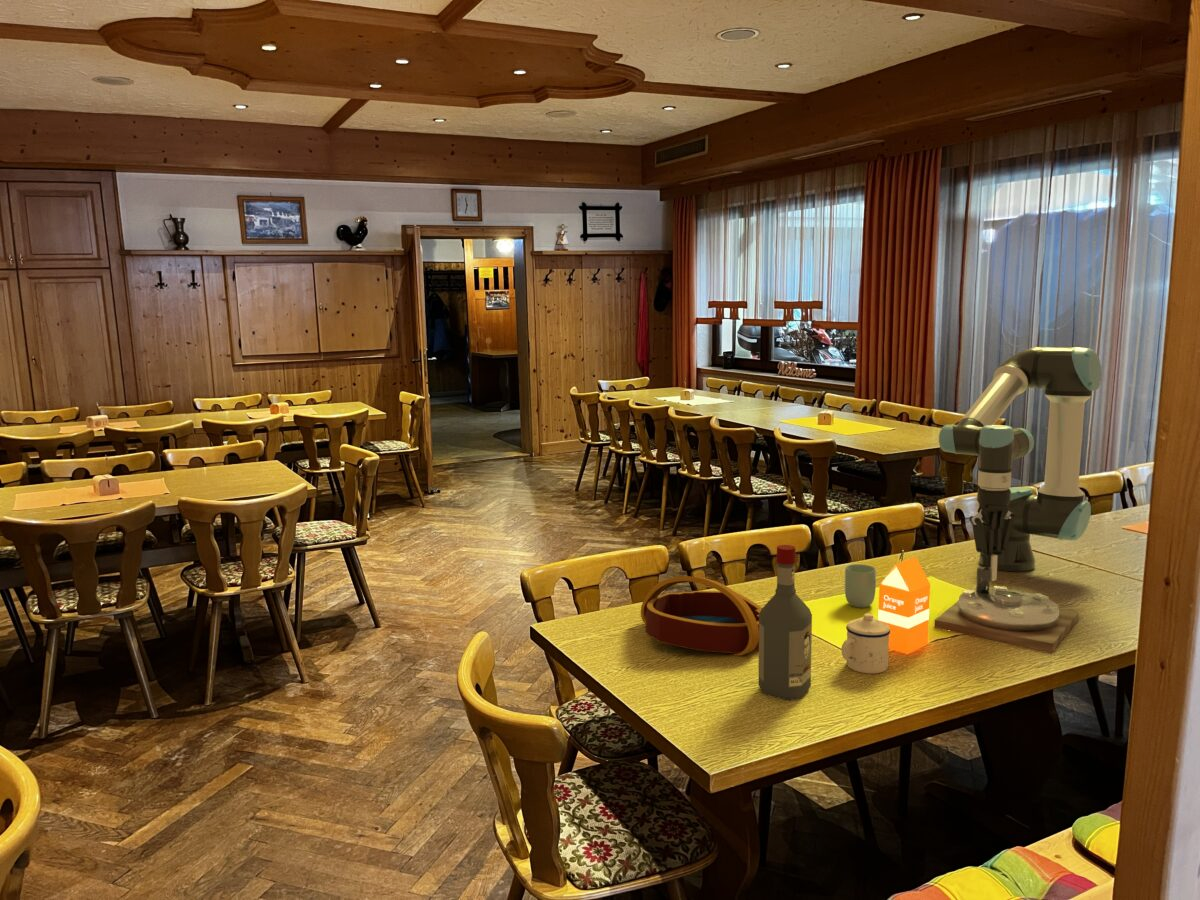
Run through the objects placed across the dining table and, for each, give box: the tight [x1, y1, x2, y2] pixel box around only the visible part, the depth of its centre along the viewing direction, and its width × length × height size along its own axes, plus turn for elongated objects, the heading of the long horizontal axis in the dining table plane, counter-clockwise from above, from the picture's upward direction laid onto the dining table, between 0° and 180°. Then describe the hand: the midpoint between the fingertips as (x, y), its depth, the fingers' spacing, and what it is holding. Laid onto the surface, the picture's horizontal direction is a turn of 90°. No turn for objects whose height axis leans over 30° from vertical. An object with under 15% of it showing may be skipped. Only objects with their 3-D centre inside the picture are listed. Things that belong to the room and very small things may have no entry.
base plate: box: [933, 600, 1080, 653], centre depth 211 cm, size 26×26×2 cm
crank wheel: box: [958, 566, 1060, 631], centre depth 210 cm, size 22×22×9 cm
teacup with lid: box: [840, 613, 890, 675], centre depth 186 cm, size 12×9×12 cm
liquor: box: [758, 544, 813, 701], centre depth 175 cm, size 9×9×30 cm
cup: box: [844, 563, 877, 609], centre depth 226 cm, size 8×8×10 cm
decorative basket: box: [640, 575, 763, 657], centre depth 206 cm, size 34×29×15 cm
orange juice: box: [877, 556, 931, 655], centre depth 198 cm, size 8×9×20 cm
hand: (990, 579), depth 219 cm, fingers closed
